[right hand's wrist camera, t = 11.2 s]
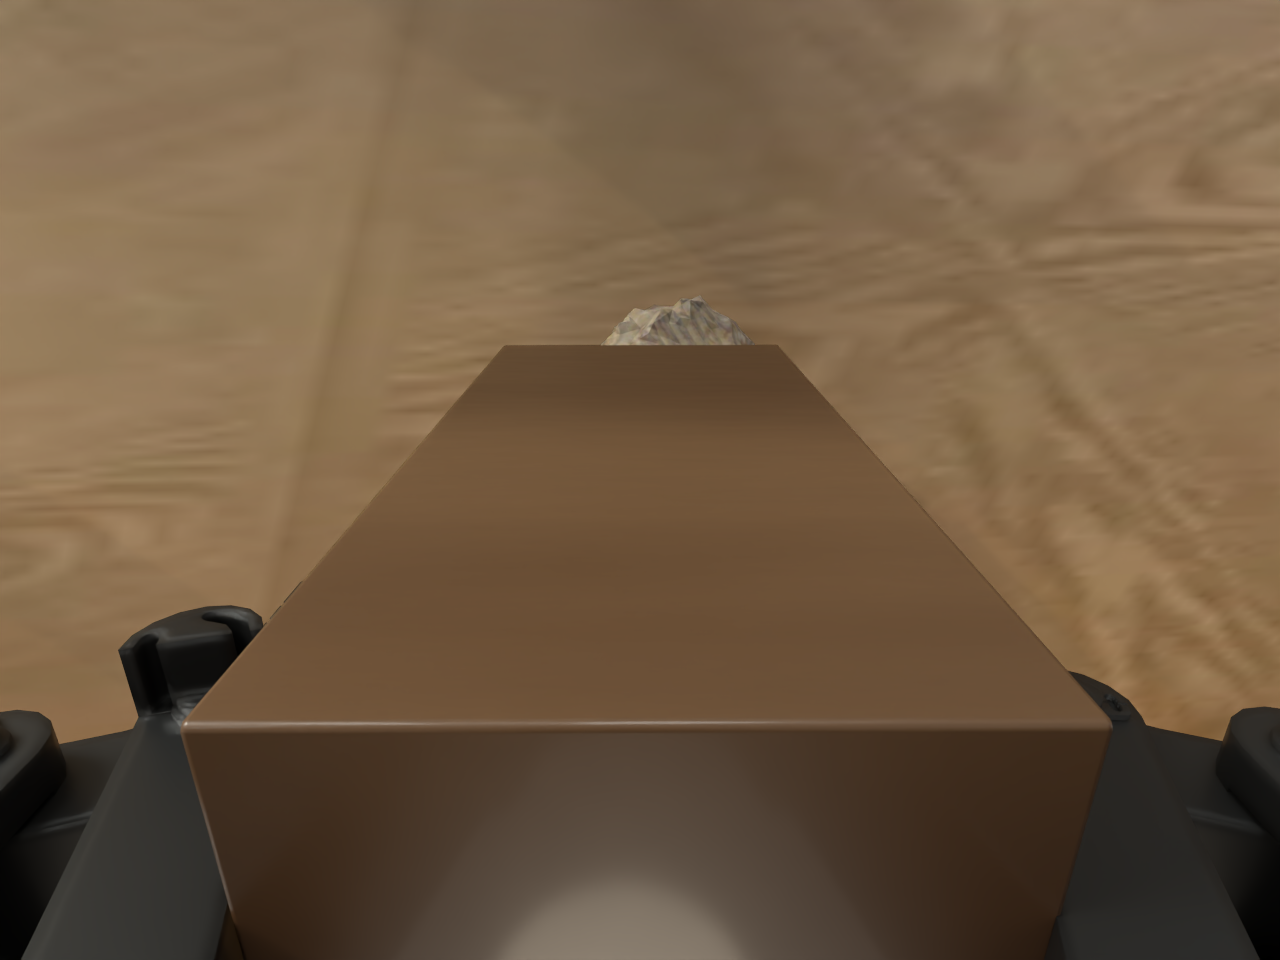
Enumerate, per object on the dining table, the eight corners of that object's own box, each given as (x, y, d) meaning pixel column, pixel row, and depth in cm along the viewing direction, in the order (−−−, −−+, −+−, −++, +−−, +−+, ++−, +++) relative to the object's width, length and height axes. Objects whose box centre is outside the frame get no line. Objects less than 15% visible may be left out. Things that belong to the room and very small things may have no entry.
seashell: (634, 270, 31) (491, 275, 22) (883, 309, 27) (830, 333, 18) (602, 565, 35) (472, 666, 26) (811, 631, 32) (741, 774, 23)
